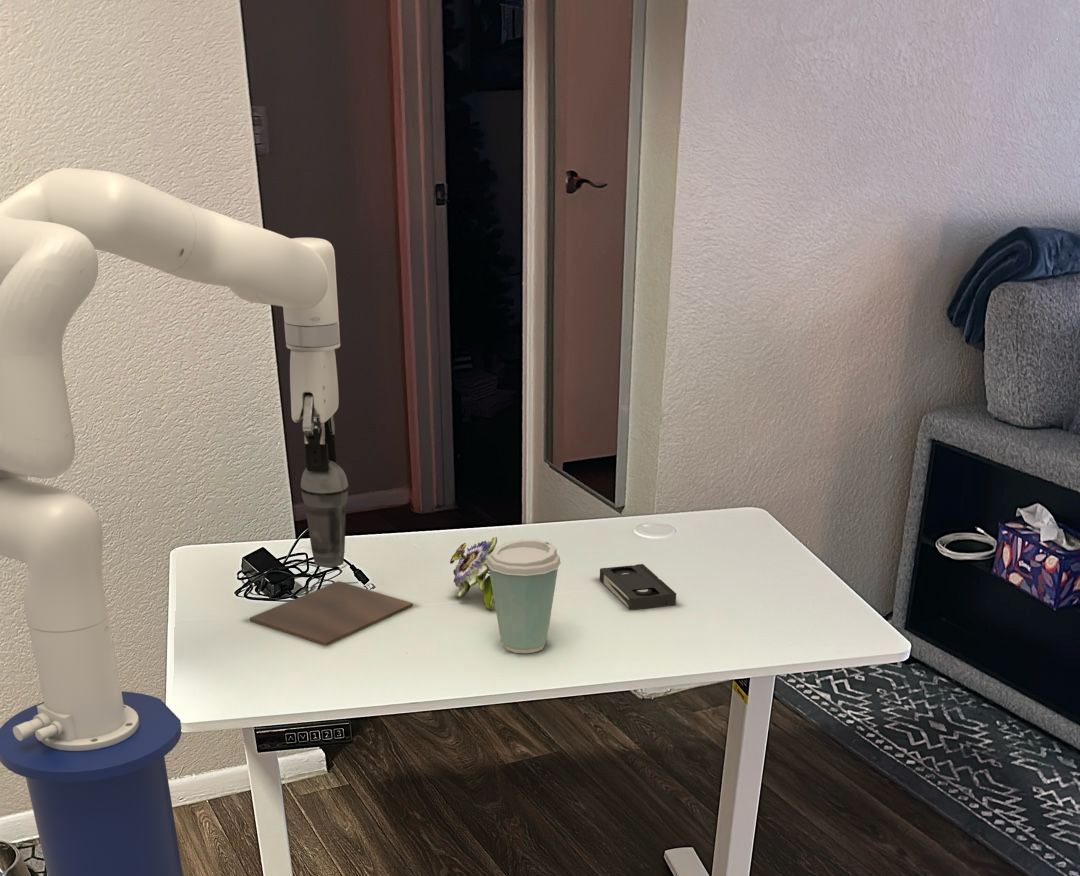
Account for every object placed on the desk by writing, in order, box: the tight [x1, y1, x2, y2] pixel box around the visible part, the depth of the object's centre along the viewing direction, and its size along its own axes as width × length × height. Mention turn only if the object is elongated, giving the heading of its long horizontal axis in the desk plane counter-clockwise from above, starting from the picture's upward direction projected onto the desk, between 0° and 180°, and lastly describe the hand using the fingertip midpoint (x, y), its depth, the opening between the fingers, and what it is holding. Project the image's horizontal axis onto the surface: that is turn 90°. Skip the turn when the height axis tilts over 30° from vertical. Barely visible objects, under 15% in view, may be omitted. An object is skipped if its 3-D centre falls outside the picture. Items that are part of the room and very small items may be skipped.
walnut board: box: [249, 580, 414, 647], centre depth 200 cm, size 20×16×1 cm
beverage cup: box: [299, 428, 350, 568], centre depth 191 cm, size 7×7×20 cm
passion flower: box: [449, 536, 498, 612], centre depth 205 cm, size 11×11×12 cm
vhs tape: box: [599, 563, 677, 611], centre depth 210 cm, size 14×8×2 cm, turn 18°
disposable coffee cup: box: [487, 538, 561, 654], centre depth 187 cm, size 11×11×15 cm
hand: (322, 465), depth 188 cm, fingers closed on beverage cup, 4 cm apart
